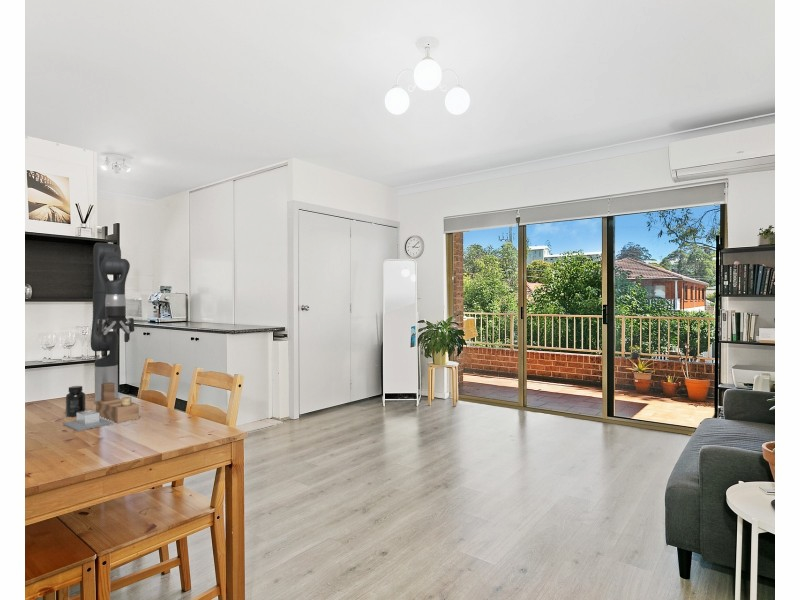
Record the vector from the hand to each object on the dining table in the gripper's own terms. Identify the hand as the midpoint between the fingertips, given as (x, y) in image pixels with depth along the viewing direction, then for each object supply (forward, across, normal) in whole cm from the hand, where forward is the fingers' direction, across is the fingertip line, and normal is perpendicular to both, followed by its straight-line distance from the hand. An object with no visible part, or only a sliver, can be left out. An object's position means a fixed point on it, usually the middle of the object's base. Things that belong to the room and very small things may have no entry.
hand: (115, 342), depth 204 cm
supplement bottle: (+30, +12, -9) cm, 34 cm away
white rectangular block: (+29, +15, +11) cm, 35 cm away
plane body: (+30, +3, +8) cm, 31 cm away
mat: (+30, +15, +11) cm, 35 cm away
